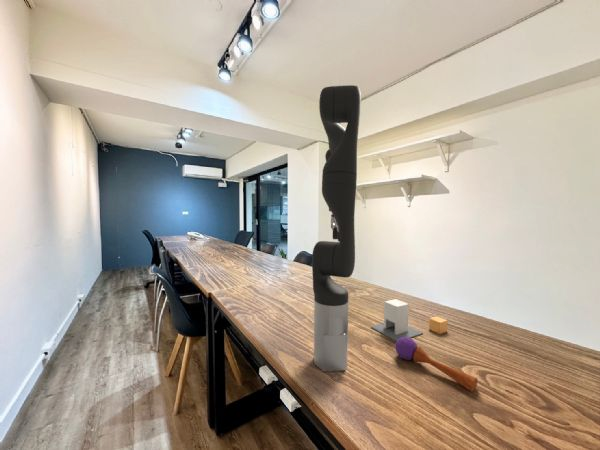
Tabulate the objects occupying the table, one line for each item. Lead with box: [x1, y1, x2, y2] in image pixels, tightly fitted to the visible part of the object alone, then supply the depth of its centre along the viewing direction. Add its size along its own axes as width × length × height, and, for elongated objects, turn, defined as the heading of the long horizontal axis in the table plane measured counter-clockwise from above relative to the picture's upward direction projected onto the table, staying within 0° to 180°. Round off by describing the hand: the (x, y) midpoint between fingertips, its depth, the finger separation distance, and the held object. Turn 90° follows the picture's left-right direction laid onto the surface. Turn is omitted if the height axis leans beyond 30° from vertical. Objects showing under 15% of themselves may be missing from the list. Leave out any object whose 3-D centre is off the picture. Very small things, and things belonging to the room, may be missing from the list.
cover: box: [383, 298, 410, 335], centre depth 90 cm, size 6×6×10 cm
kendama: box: [394, 337, 479, 393], centre depth 68 cm, size 6×6×20 cm
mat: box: [370, 322, 423, 343], centre depth 90 cm, size 12×12×1 cm
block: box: [428, 316, 448, 335], centre depth 90 cm, size 4×4×4 cm
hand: (337, 240), depth 102 cm, fingers open, 8 cm apart
